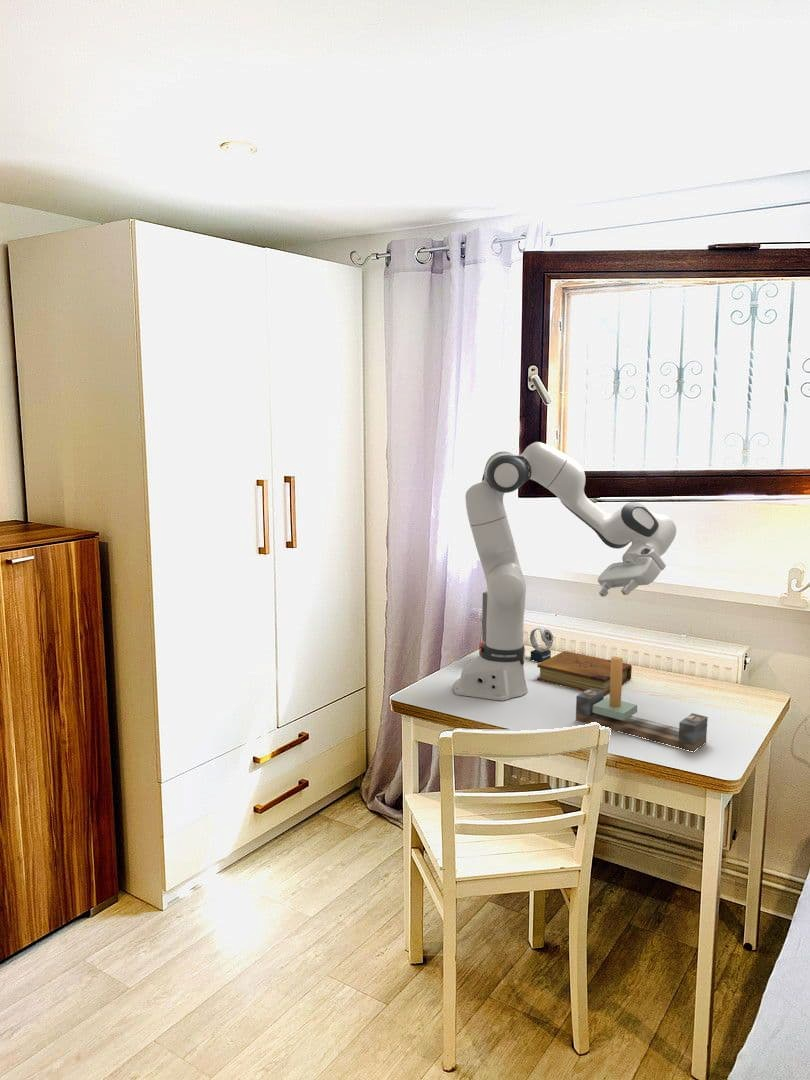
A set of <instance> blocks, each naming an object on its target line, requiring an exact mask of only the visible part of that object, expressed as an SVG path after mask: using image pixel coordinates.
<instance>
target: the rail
mask: <svg viewBox="0 0 810 1080" xmlns="http://www.w3.org/2000/svg"><path fill="white" fill-rule="evenodd" d="M604 697H605V696H604V691H601V690H597V689H592V688H590V689H588V690H586V691H582V692H581V693H579V694H577V695H576V702H575V704H576V705H575V721H577V722H581V723H584V724H588V723H591V722H597V723H599V724H600V725H601V726H605V727H609V728H611V729H612V730H611V731H613V730H614V731H613V732H617V731H620V732H623V733H622V734H624V733H627V734H631V735H635V736H638V737H641V738H640V739H642V737H643V738H646V739H649V740H652V741H656V742H660V743H664V744H668V745H671V746H675V747H679V748H682V749H685V750H689V751H693V752H694V751H695V750H696V749H697V748H699V747H700V746H702V745H703V744H704V743H705V744H707V734H708V718H709V717H708V716H705V715H701V714H698V713H693V712H692V713H690V714H689V715H688V716H686V717H684V718H683V719H682V720H680V721H679V723H678V726H679V727H675V726H672V725H668V724H664V723H660V722H658V721H657V722H656V721H652V720H649V719H645V718H641V717H637V716H633V715H632V716H630V717H628V718H627V719H625V720H624V721H623V720H619V719H615V718H612V717H608V716H604V715H600V714H597V713H593V705H594V704H596V703H598V702H600V701H601V700H603V699H605V698H604ZM620 732H619V733H620ZM627 734H626V735H627ZM631 735H630V736H631ZM635 736H634V737H635ZM638 737H637V738H638ZM649 740H648V741H649ZM652 741H651V742H652ZM656 742H655V743H656ZM660 743H659V744H660ZM705 744H704V745H705ZM704 745H703V746H704ZM703 746H702V747H703ZM700 748H701V747H700ZM700 748H699V749H700ZM685 750H684V751H685ZM695 752H696V751H695ZM695 752H694V753H695Z"/></svg>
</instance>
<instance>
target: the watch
mask: <svg viewBox="0 0 810 1080" xmlns="http://www.w3.org/2000/svg"><path fill="white" fill-rule="evenodd" d="M536 631H539V633H540V637H541V640H542V642H543V643H544V644H545V646H546V648H542V647H540V646H539V644H538V642H537V639H536V635H535V633H536ZM529 641H530V644H531V646H532V648H533V649H534V650H531V651H530V661H531V660H534V661H533V662H535V661H537V662H536V663H539V662H543V661H545V660H547V659H549V658H551V657H552V656H551V653H552V651H551V648H552V646H553V645H554V644H553V643H554V635H553V633H552V631H550V630H548V629H547V628H545V627H542V626H541V627H540V626H539V627H536V628H534V629H532V630H531V632H530V634H529Z"/></svg>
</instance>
